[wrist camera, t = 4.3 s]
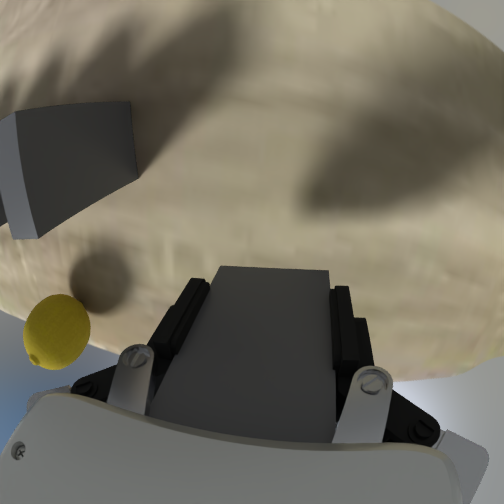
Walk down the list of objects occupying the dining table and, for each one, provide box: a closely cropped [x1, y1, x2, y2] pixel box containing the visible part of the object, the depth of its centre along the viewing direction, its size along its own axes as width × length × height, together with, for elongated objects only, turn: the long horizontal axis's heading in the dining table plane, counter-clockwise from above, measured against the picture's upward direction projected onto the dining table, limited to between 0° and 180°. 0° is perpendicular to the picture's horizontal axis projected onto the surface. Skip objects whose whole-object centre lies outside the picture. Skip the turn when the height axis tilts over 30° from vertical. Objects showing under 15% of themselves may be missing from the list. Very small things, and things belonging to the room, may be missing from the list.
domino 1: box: [0, 102, 138, 239], centre depth 12 cm, size 2×5×9 cm, turn 2°
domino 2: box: [149, 266, 336, 443], centre depth 10 cm, size 2×5×9 cm, turn 93°
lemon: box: [23, 294, 91, 370], centre depth 19 cm, size 6×6×8 cm
